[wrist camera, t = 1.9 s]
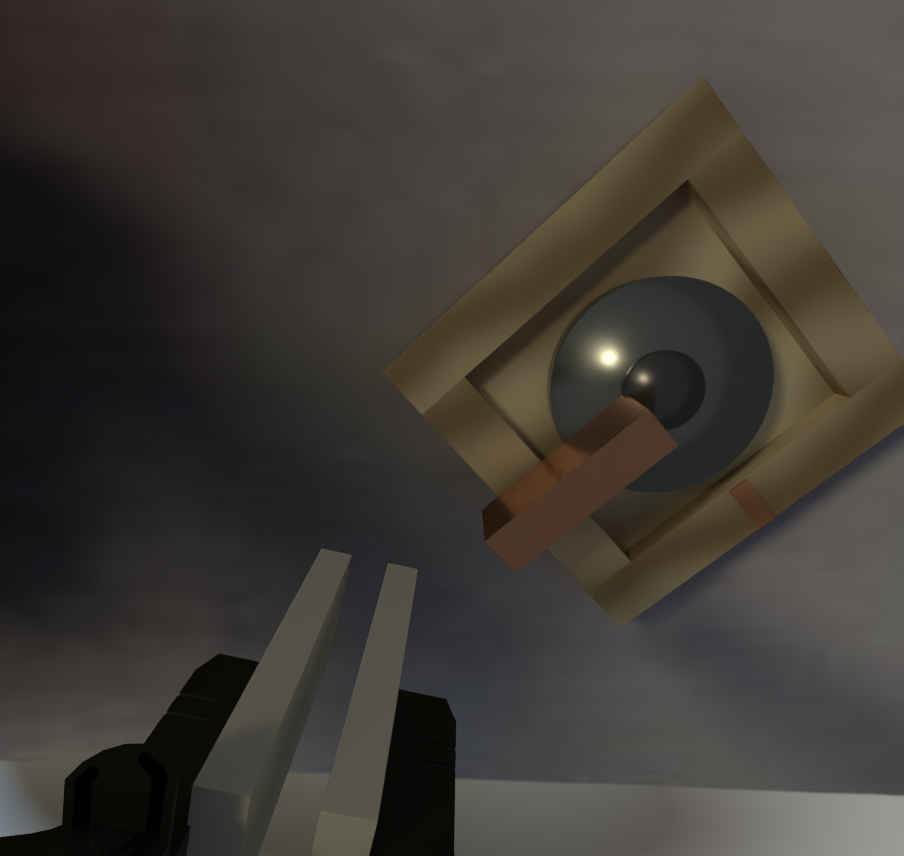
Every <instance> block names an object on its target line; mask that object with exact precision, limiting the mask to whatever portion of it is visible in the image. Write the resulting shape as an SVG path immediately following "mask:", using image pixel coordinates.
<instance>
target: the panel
mask: <svg viewBox="0 0 904 856" xmlns="http://www.w3.org/2000/svg"><path fill="white" fill-rule="evenodd" d="M660 276H683V277H691V278H696V279H700V280H704V281H708V282H710V283H713V284H715V285H717V286H720V287H722V288H723V289H725V290H727V291H728V292H730V293H732V294H733V295H735V296H736V297H737V298H738V299H739V300H741V301H742V302H743V303H744V304H745V305H746V306H747V307H748V308H749V309H750V310H751V312H752V313H753V314H754V315H755V317H756V318H757V320H758V321H759V323H760V324H761V326H762V328H763V330H764V332H765V334H766V337H767V339H768V342H769V345H770V349H771V352H772V358H773V366H774V383H773V391H772V397H771V401H770V404H769V408H768V411H767V413H766V416H765V418H764V421H763V423H762V425H761V427H760V428H759V430H758V432H757V434H756V436H755V437H754V438H753V440H752V441H751V442H750V444H749V445H748V447H747V448H746V449H745V450H744V451H743V452H742V453H741V454H740V455H739V456H738V458H737V459H735V460H734V461H733V462H732V463H731V464H729V465H728V466H727V467H726V468H725V469H723V470H722V471H720V472H719V473H717V474H716V475H714V476H712V477H710V478H708V479H706V480H705V481H703V482H701V483H698V484H695V485H693V486H690V487H687V488H683V489H679V490H675V491H669V492H661V493H645V492H636V491H630V490H626V489H623V490H621V491H620V492H619V493H617V494H616V495H615V496H614V497H612V498H611V499H610V500H608V501H607V502H606V503H605V504H603V505H602V506H601V507H599V508H598V509H597V510H596V511H594V512H593V513H592V514H590V515H589V516H588V517H587V518H585V519H584V520H583V521H582V522H580V523H579V524H578V525H576V526H575V527H574V528H573V529H571V530H570V531H569V532H567V533H566V534H565V535H564V536H562V537H561V538H560V539H558V540H557V541H556V542H555V543H553V544H552V545H551V546H549V547H548V548H547V549H548V550H549V551H550V552H551V554H552V555H553V556H554V557H555V558H556V559H557V560H558V561H559V562H560V563H561V564H562V565H563V566H564V567H565V569H566V570H567V571H568V572H569V573H570V574H571V575H572V576H573V577H574V578H575V579H576V580H577V581H578V582H579V584H580V585H581V586H582V587H583V588H584V589H585V590H586V591H587V592H588V593H589V594H590V595H591V596H592V597H593V599H594V600H595V601H596V602H597V603H598V604H599V605H600V606H601V607H602V608H603V609H604V610H605V611H606V612H607V613H608V615H609V616H610V617H611V618H612V619H613V620H614V621H615V622H616V623H617V624H618V625H619V626H620V627H621V628H622V627H623V626H624V625H626V624H627V623H629V622H630V621H631V620H633V619H634V618H636V617H637V616H638V615H640V614H641V613H642V612H644V611H645V610H647V609H648V608H649V607H651V606H652V605H654V604H655V603H656V602H658V601H659V600H660V599H662V598H663V597H665V596H666V595H667V594H669V593H670V592H672V591H673V590H674V589H676V588H677V587H678V586H680V585H681V584H683V583H684V582H685V581H687V580H688V579H690V578H691V577H692V576H694V575H695V574H696V573H698V572H699V571H701V570H702V569H703V568H705V567H706V566H708V565H709V564H710V563H712V562H713V561H714V560H716V559H717V558H719V557H720V556H721V555H723V554H724V553H726V552H727V551H728V550H730V549H731V548H732V547H734V546H735V545H737V544H738V543H739V542H741V541H742V540H744V539H745V538H746V537H748V536H749V535H751V534H752V533H753V532H755V531H756V530H757V529H759V528H762V527H763V526H764V525H766V524H767V523H768V522H770V521H771V520H773V519H774V518H775V517H776V516H777V515H778V514H780V513H781V512H782V511H784V510H785V509H787V508H788V507H789V506H791V505H792V504H793V503H795V502H796V501H798V500H799V499H800V498H802V497H803V496H805V495H806V494H807V493H809V492H810V491H811V490H813V489H814V488H816V487H817V486H818V485H820V484H821V483H823V482H824V481H825V480H827V479H828V478H829V477H831V476H832V475H834V474H835V473H836V472H838V471H839V470H841V469H842V468H843V467H845V466H846V465H847V464H849V463H850V462H852V461H853V460H854V459H856V458H857V457H859V456H860V455H861V454H863V453H864V452H865V451H867V450H868V449H870V448H871V447H872V446H874V445H875V444H877V443H878V442H879V441H881V440H882V439H883V438H885V437H886V436H888V435H889V434H890V433H892V432H893V431H895V430H896V429H897V428H899V427H900V426H901V425H903V424H904V360H903V359H902V357H901V356H900V355H899V353H898V352H897V350H896V349H895V347H894V346H893V345H892V343H891V342H890V340H889V339H888V338H887V336H886V335H885V333H884V332H883V330H882V329H881V328H880V326H879V325H878V323H877V322H876V320H875V319H874V318H873V316H872V315H871V313H870V312H869V311H868V309H867V308H866V306H865V305H864V303H863V302H862V301H861V299H860V298H859V296H858V295H857V294H856V292H855V291H854V289H853V288H852V286H851V285H850V284H849V282H848V281H847V279H846V278H845V277H844V275H843V274H842V272H841V271H840V269H839V268H838V267H837V265H836V264H835V262H834V261H833V259H832V258H831V257H830V255H829V254H828V252H827V251H826V250H825V248H824V247H823V245H822V244H821V242H820V241H819V240H818V238H817V237H816V235H815V234H814V233H813V231H812V230H811V228H810V227H809V225H808V224H807V223H806V221H805V220H804V218H803V217H802V215H801V214H800V213H799V211H798V210H797V208H796V207H795V206H794V204H793V203H792V201H791V200H790V198H789V197H788V196H787V194H786V193H785V191H784V190H783V189H782V187H781V186H780V184H779V183H778V181H777V180H776V179H775V177H774V176H773V174H772V173H771V172H770V170H769V169H768V167H767V166H766V164H765V163H764V162H763V160H762V159H761V157H760V156H759V154H758V153H757V152H756V150H755V149H754V147H753V146H752V145H751V143H750V142H749V140H748V139H747V137H746V136H745V135H744V133H743V132H742V130H741V129H740V128H739V126H738V125H737V123H736V122H735V120H734V119H733V118H732V116H731V115H730V113H729V112H728V111H727V109H726V108H725V106H724V105H723V103H722V102H721V101H720V99H719V98H718V96H717V95H716V93H715V92H714V91H713V89H712V88H711V86H710V85H709V84H708V82H707V81H706V79H705V78H704V76H703V77H702V78H701V79H700V80H699V81H697V82H696V83H695V84H694V85H693V86H692V87H691V88H690V89H688V90H687V91H686V92H685V93H684V94H683V95H682V96H680V97H679V98H678V99H677V100H676V101H675V102H674V103H673V104H672V105H671V106H670V107H668V108H667V109H666V110H665V111H664V112H663V113H662V114H661V115H660V116H659V117H658V118H657V119H655V120H654V121H653V122H652V123H651V124H650V125H649V126H648V127H647V128H646V129H645V130H644V131H642V132H641V133H640V134H639V135H638V136H637V137H636V138H635V139H634V140H633V141H632V142H631V143H629V144H628V145H627V146H626V147H625V148H624V149H623V150H622V151H621V152H620V153H619V154H618V155H616V156H615V157H614V158H613V159H612V160H611V161H610V162H609V163H608V164H607V165H606V166H605V167H603V168H602V169H601V170H600V171H599V172H598V173H597V174H596V175H595V176H594V177H593V178H592V179H590V180H589V181H588V182H587V183H586V184H585V185H584V186H583V187H582V188H581V189H580V190H579V191H577V192H576V193H575V194H574V195H573V196H572V197H571V198H570V199H569V200H568V201H567V202H566V203H564V204H563V205H562V206H561V207H560V208H559V209H558V210H557V211H556V212H555V213H554V214H552V215H551V216H550V217H549V218H548V219H547V220H546V221H545V222H544V223H543V224H542V225H541V226H539V227H538V228H537V229H536V230H535V231H534V232H533V233H532V234H531V235H530V236H529V237H528V238H526V239H525V240H524V241H523V242H522V243H521V244H520V245H519V246H518V247H517V248H516V249H515V250H513V251H512V252H511V253H510V254H509V255H508V256H507V257H506V258H505V259H504V260H503V261H502V262H500V263H499V264H498V265H497V266H496V267H495V268H494V269H493V270H492V271H491V272H490V273H489V274H487V275H486V276H485V277H484V278H483V279H482V280H481V281H480V282H479V283H478V284H477V285H476V286H474V287H473V288H472V289H471V290H470V291H469V292H468V293H467V294H466V295H465V296H464V297H463V298H461V299H460V300H459V301H458V302H457V303H456V304H455V305H454V306H453V307H452V308H451V309H450V310H448V311H447V312H446V313H445V314H444V315H443V316H442V317H441V318H440V319H439V320H438V321H437V322H435V323H434V324H433V325H432V326H431V327H430V328H429V329H428V330H427V331H426V332H425V333H423V334H422V335H421V336H420V337H419V338H418V339H417V340H416V341H415V342H414V343H413V344H412V345H410V346H409V347H408V348H407V349H406V350H405V351H404V352H403V353H402V354H401V355H400V356H399V357H397V358H396V359H395V360H394V361H393V362H392V363H391V364H390V365H389V366H388V367H387V368H386V369H385V370H384V371H383V372H382V373H383V374H384V375H385V376H386V377H387V378H388V379H389V380H390V381H391V382H392V383H393V384H394V385H395V387H396V388H397V389H398V390H399V391H400V392H401V393H402V394H403V395H404V396H405V397H406V398H407V399H408V400H409V402H410V403H411V404H412V405H413V406H414V407H415V408H416V409H417V410H418V411H419V412H420V413H421V414H422V415H423V417H424V418H425V419H426V420H427V421H428V422H429V423H430V424H431V425H432V426H433V427H434V428H435V429H436V430H437V432H438V433H439V434H440V435H441V436H442V437H443V438H444V439H445V440H446V441H447V442H448V443H449V444H450V445H451V447H452V448H453V449H454V450H455V451H456V452H457V453H458V454H459V455H460V456H461V457H462V458H463V459H464V460H465V461H466V463H467V464H468V465H469V466H470V467H471V468H472V469H473V470H474V471H475V472H476V473H477V474H478V475H479V476H480V478H481V479H482V480H483V481H484V482H485V483H486V484H487V485H488V486H489V487H490V488H491V489H492V490H493V491H494V493H495V494H496V495H497V496H498V497H499V496H500V495H501V494H502V493H503V492H505V491H506V490H507V489H508V488H510V487H511V486H512V485H513V484H514V483H516V482H517V481H518V480H519V479H521V478H522V477H523V476H524V475H525V474H527V473H528V472H529V471H530V470H531V469H533V468H534V467H535V466H536V465H538V464H539V463H540V462H541V461H542V460H544V459H545V458H546V457H547V456H549V455H550V454H551V453H552V452H553V451H555V450H556V449H557V448H558V447H560V446H561V445H562V444H563V441H562V439H561V438H560V436H559V434H558V432H557V431H556V428H555V426H554V423H553V421H552V418H551V415H550V410H549V406H548V398H547V377H548V371H549V365H550V362H551V359H552V355H553V352H554V350H555V347H556V345H557V343H558V341H559V339H560V337H561V335H562V334H563V332H564V330H565V329H566V327H567V326H568V325H569V323H570V322H571V321H572V319H573V318H574V317H575V316H576V315H577V314H578V313H579V312H580V311H581V310H582V309H583V308H584V307H585V306H586V305H587V304H588V303H590V302H591V301H592V300H594V299H595V298H596V297H597V296H599V295H601V294H603V293H604V292H606V291H608V290H609V289H611V288H614V287H616V286H618V285H621V284H623V283H626V282H630V281H633V280H637V279H642V278H649V277H660Z"/></svg>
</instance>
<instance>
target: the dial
mask: <svg viewBox="0 0 904 856" xmlns="http://www.w3.org/2000/svg"><path fill="white" fill-rule="evenodd" d="M773 383H774V366H773V358H772V352H771V349H770V345H769V342H768V339H767V337H766V334H765V332H764V330H763V328H762V326H761V324H760V323H759V321H758V320H757V318H756V317H755V315H754V314H753V313H752V312H751V310H750V309H749V308H748V307H747V306H746V305H745V304H744V303H743V302H742V301H741V300H739V299H738V298H737V297H736V296H735V295H733V294H732V293H730V292H728V291H727V290H725V289H723V288H722V287H720V286H717V285H715V284H713V283H710V282H708V281H704V280H700V279H696V278H691V277H683V276H660V277H649V278H642V279H637V280H633V281H630V282H626V283H623V284H621V285H618V286H616V287H614V288H611V289H609V290H608V291H606V292H604V293H603V294H601V295H599V296H597V297H596V298H595V299H594V300H592V301H591V302H590V303H588V304H587V305H586V306H585V307H584V308H583V309H582V310H581V311H580V312H579V313H578V314H577V315H576V316H575V317H574V318H573V319H572V321H571V322H570V323H569V325H568V326H567V327H566V329H565V330H564V332H563V334H562V335H561V337H560V339H559V341H558V343H557V345H556V347H555V350H554V352H553V355H552V359H551V362H550V365H549V371H548V377H547V398H548V406H549V410H550V415H551V418H552V421H553V423H554V426H555V428H556V431H557V432H558V434H559V436H560V438H561V439H562V441H563V444H562V445H561V446H560V447H558V448H557V449H556V450H555V451H553V452H552V453H551V454H550V455H549V456H547V457H546V458H545V459H544V460H542V461H541V462H540V463H539V464H538V465H536V466H535V467H534V468H533V469H531V470H530V471H529V472H528V473H527V474H525V475H524V476H523V477H522V478H521V479H519V480H518V481H517V482H516V483H514V484H513V485H512V486H511V487H510V488H508V489H507V490H506V491H505V492H503V493H502V494H501V495H500V496H499V497H497V498H496V499H495V500H494V501H492V502H491V503H490V504H489V505H488V506H486V507H485V508H484V509H483V510H482V515H483V527H484V538H485V542H486V543H487V544H488V545H489V546H490V547H491V548H492V549H493V551H494V552H495V553H496V554H497V555H498V556H499V557H500V558H501V559H502V560H503V561H504V562H505V563H506V564H507V565H508V566H509V567H510V568H511V569H512V570H513V571H514V572H515V573H516V572H517V571H519V570H520V569H521V568H523V567H524V566H525V565H526V564H528V563H529V562H530V561H531V560H533V559H534V558H535V557H537V556H538V555H539V554H540V553H542V552H543V551H544V550H546V549H547V548H548V547H549V546H551V545H552V544H553V543H555V542H556V541H557V540H558V539H560V538H561V537H562V536H564V535H565V534H566V533H567V532H569V531H570V530H571V529H573V528H574V527H575V526H576V525H578V524H579V523H580V522H582V521H583V520H584V519H585V518H587V517H588V516H589V515H590V514H592V513H593V512H594V511H596V510H597V509H598V508H599V507H601V506H602V505H603V504H605V503H606V502H607V501H608V500H610V499H611V498H612V497H614V496H615V495H616V494H617V493H619V492H620V491H621V490H623V489H626V490H630V491H636V492H645V493H661V492H669V491H675V490H679V489H683V488H687V487H690V486H693V485H695V484H698V483H701V482H703V481H705V480H706V479H708V478H710V477H712V476H714V475H716V474H717V473H719V472H720V471H722V470H723V469H725V468H726V467H727V466H728V465H729V464H731V463H732V462H733V461H734V460H735V459H737V458H738V456H739V455H740V454H741V453H742V452H743V451H744V450H745V449H746V448H747V447H748V445H749V444H750V442H751V441H752V440H753V438H754V437H755V436H756V434H757V432H758V430H759V428H760V427H761V425H762V423H763V421H764V418H765V416H766V413H767V411H768V408H769V404H770V401H771V397H772V391H773Z"/></svg>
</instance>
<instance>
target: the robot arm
mask: <svg viewBox="0 0 904 856" xmlns="http://www.w3.org/2000/svg"><path fill="white" fill-rule="evenodd" d="M351 556H352V555H350V554H345V553H341V552H336V551H331V550H327V549H322V548H321V550H320V552H319V554H318V556H317V558H316V559H315V561H314V563H313V565H312V567H311V569H310V570H309V572H308V574H307V576H306V578H305V580H304V582H303V583H302V585H301V587H300V589H299V591H298V593H297V594H296V596H295V598H294V600H293V602H292V604H291V605H290V607H289V609H288V611H287V613H286V615H285V616H284V618H283V620H282V622H281V624H280V626H279V627H278V629H277V631H276V633H275V635H274V637H273V638H272V640H271V642H270V644H269V646H268V648H267V649H266V651H265V653H264V655H263V657H262V659H261V660H260V662H257V661H252V660H247V659H242V658H238V657H233V656H228V655H223V654H218V655H216V656H215V657H214V658H212V659H211V660H209V661H208V662H206V663H205V664H203V665H202V666H200V667H199V668H198V669H196V670H195V671H194V673H193V674H192V676H191V677H190V679H189V680H188V681H187V683H186V684H185V686H184V687H183V689H182V690H181V691H180V695H179V696H177V697H176V699H175V700H174V701H173V703H172V704H171V706H170V707H169V709H168V710H167V713H166V715H164V716H163V717H162V719H161V720H160V721H159V723H158V724H157V726H156V727H155V729H154V730H153V731H152V733H151V734H150V736H149V737H148V738H147V740H146V741H145V743H144V744H124V745H120V746H117V747H113V748H110V749H106V750H103V751H101V752H100V753H98V754H96V755H94V756H93V757H91V758H89V759H87V760H86V761H84V762H82V763H81V764H80V765H79V766H78V767H77V768H76V769H75V770H74V771H73V772H72V773H71V774H70V775H69V776H68V777H67V778H66V779H65V787H64V803H63V820H62V825H61V826H58V827H56V828H53V829H50V830H45V831H40V832H36V833H31V834H23V835H15V836H7V837H0V856H258V853H259V850H260V847H261V845H262V842H263V839H264V837H265V834H266V831H267V828H268V825H269V823H270V820H271V817H272V814H273V812H274V809H275V806H276V804H277V801H278V797H279V795H280V792H281V790H282V787H283V784H284V781H285V779H286V775H287V773H288V770H289V768H290V765H291V762H292V759H293V757H294V754H295V751H296V748H297V746H298V743H299V740H300V737H301V734H302V732H303V729H304V726H305V723H306V721H307V718H308V715H309V712H310V710H311V707H312V704H313V701H314V699H315V696H316V693H317V690H318V688H319V685H320V682H321V679H322V676H323V674H324V671H325V668H326V665H327V663H328V660H329V657H330V654H331V652H332V649H333V645H334V640H335V635H336V630H337V625H338V620H339V615H340V610H341V605H342V600H343V595H344V590H345V585H346V580H347V575H348V571H349V566H350V561H351ZM417 572H418V569H414V568H410V567H405V566H400V565H396V564H391V563H388V565H387V569H386V573H385V576H384V580H383V584H382V587H381V591H380V595H379V598H378V602H377V606H376V609H375V613H374V617H373V620H372V624H371V628H370V631H369V635H368V639H367V642H366V646H365V650H364V653H363V657H362V661H361V664H360V668H359V672H358V675H357V679H356V683H355V686H354V690H353V694H352V697H351V701H350V705H349V708H348V712H347V716H346V719H345V723H344V727H343V730H342V734H341V738H340V741H339V745H338V749H337V752H336V756H335V760H334V763H333V767H332V771H331V774H330V778H329V782H328V785H327V789H326V793H325V797H324V800H323V804H322V808H321V811H320V816H319V820H318V825H317V830H316V834H315V839H314V844H313V848H312V853H311V856H454V815H455V754H456V751H455V747H456V721H455V718H454V716H453V714H452V712H451V709H450V707H449V705H448V702H447V700H446V699H443V698H438V697H433V696H429V695H424V694H419V693H414V692H410V691H405V690H400V689H399V685H400V678H401V672H402V666H403V660H404V654H405V647H406V641H407V635H408V629H409V622H410V616H411V610H412V604H413V597H414V591H415V585H416V579H417Z"/></svg>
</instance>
